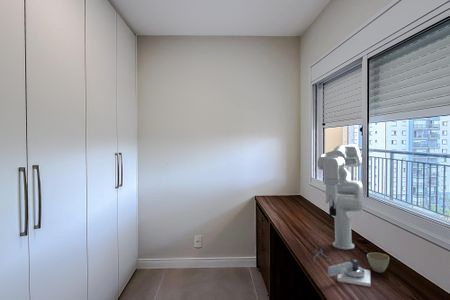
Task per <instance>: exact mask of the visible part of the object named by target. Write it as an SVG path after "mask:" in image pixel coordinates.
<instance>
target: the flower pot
mask: <svg viewBox="0 0 450 300" xmlns="http://www.w3.org/2000/svg"><path fill="white" fill-rule="evenodd" d="M366 257H367V261H368V263H369V266H370V267H371V269H372V270H373V271H374V272H377V273H384V272H385V271H386V269H387V268H388V266H389V263H390V257H389V255H387V254H384V253H381V252H369V253H367V254H366Z"/></svg>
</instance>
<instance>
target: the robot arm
mask: <svg viewBox="0 0 450 300" xmlns="http://www.w3.org/2000/svg"><path fill="white" fill-rule="evenodd" d="M360 151H361V150H360V149H359V147H358V146H357V145H356V144H344V145H343V144H342V145H337V146H336V147H334V149H333V150H331V151H329V152H325V153H322V154H321V155H320V156H319V157H318V159H317V162H316V163H317V167H318V169H319V170H320V171H323V180H324V181H323V184H324V185H325V203H326V204H329V205H328V206H329V216H331V217H333V218H334V221H333V222H334V239H335V240H334V241H333V242H332V246H333V247H334V248H336V249H338V250H346V251H347V250H352V249H355V243H353V242H352V241H353V240H352V221H351V219H352V218H351V216H350V215H349V214H348V213H361V212H362V211H363V210H364V185H363V183H362V182H361V181H360V180H351V178H352V175H351V173H350V171H349V170H348V169H346V168H355V167H356V168H357V167H361V166H362V156H361V153H360ZM345 167H346V168H345Z"/></svg>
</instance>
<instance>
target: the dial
mask: <svg viewBox="0 0 450 300" xmlns="http://www.w3.org/2000/svg"><path fill="white" fill-rule="evenodd" d="M364 269H365V268H362V267H361V266H359V260H357V259H355V258H350V259H349V261H345V262H342V263H338V264H334V265H330V266H329V265H328V266H327V275H328V277H334V276H335V277H336V276H338V275H339V274H342V273H345V274H346V275H347V276H350V277H353V278H361V277H364Z"/></svg>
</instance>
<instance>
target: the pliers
mask: <svg viewBox="0 0 450 300" xmlns="http://www.w3.org/2000/svg"><path fill="white" fill-rule="evenodd" d="M315 252H316V254H315V256H314V257H312V261H313V262H314V263H316V260H315V259H316V258H317V257H318V256H320V255H321V256H323V257H325V258H326V259H328V260H329V263H332V260H331V258H330V257H329V256H327V255H325V253H323V252H324V251H323V248H321V247H320V249H319V250H318V248H315Z"/></svg>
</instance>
